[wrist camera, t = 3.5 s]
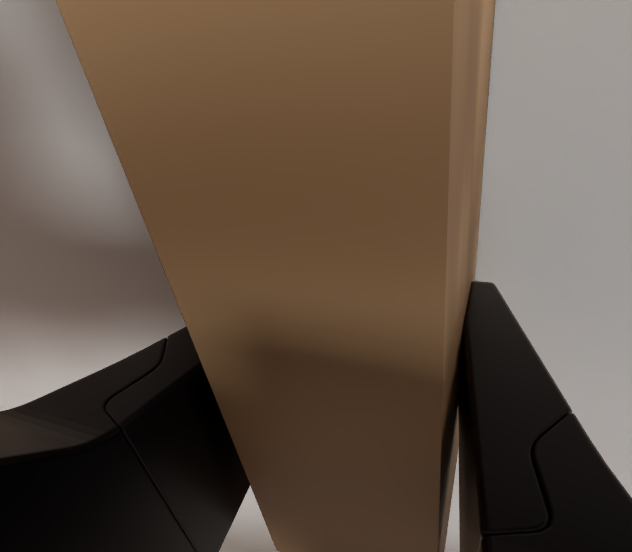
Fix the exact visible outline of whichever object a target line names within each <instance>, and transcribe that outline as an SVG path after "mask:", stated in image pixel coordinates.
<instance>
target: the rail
mask: <svg viewBox="0 0 632 552" xmlns="http://www.w3.org/2000/svg"><path fill="white" fill-rule="evenodd" d="M56 3H57V5H58V8H59V10H60V13H61V15H62V18H63V20H64V23H65V25H66V28H67V30H68V33H69V35H70V38H71V40H72V43H73V45H74V48H75V50H76V53H77V55H78V58H79V60H80V63H81V65H82V67H83V70H84V72H85V75H86V77H87V80H88V82H89V85H90V87H91V90H92V92H93V95H94V97H95V100H96V102H97V105H98V107H99V110H100V112H101V115H102V117H103V120H104V122H105V125H106V127H107V130H108V132H109V135H110V137H111V140H112V142H113V145H114V147H115V150H116V152H117V155H118V157H119V159H120V162H121V164H122V167H123V169H124V172H125V174H126V177H127V179H128V182H129V184H130V187H131V189H132V192H133V194H134V197H135V199H136V202H137V204H138V207H139V209H140V212H141V214H142V217H143V219H144V222H145V224H146V227H147V229H148V232H149V234H150V237H151V239H152V242H153V244H154V247H155V249H156V251H157V254H158V256H159V259H160V261H161V264H162V266H163V269H164V271H165V274H166V276H167V279H168V281H169V284H170V286H171V289H172V291H173V294H174V296H175V299H176V301H177V304H178V306H179V309H180V311H181V314H182V316H183V319H184V321H185V324H186V326H187V329H188V331H189V334H190V336H191V339H192V341H193V343H194V346H195V348H196V351H197V353H198V356H199V358H200V361H201V363H202V366H203V368H204V371H205V373H206V376H207V378H208V381H209V383H210V386H211V388H212V391H213V393H214V396H215V398H216V401H217V403H218V406H219V408H220V411H221V413H222V416H223V418H224V421H225V423H226V426H227V428H228V431H229V433H230V435H231V438H232V440H233V443H234V445H235V448H236V450H237V453H238V455H239V458H240V460H241V463H242V465H243V468H244V470H245V473H246V475H247V478H248V480H249V483H250V485H251V488H252V490H253V493H254V495H255V498H256V500H257V503H258V505H259V508H260V510H261V513H262V515H263V518H264V520H265V523H266V525H267V527H268V530H269V532H270V535H271V537H272V540H273V542H274V545H275V547H276V550H278V551H281V552H444V549H445V542H446V535H447V527H448V520H449V513H450V505H451V498H452V491H453V484H454V476H455V469H456V462H457V454H458V447H459V421H458V402H459V385H460V368H461V352H462V335H463V323H464V317H465V312H466V307H467V302H468V297H469V292H470V287H471V282H473V281H475V270H476V257H477V243H478V230H479V216H480V203H481V189H482V176H483V162H484V149H485V135H486V122H487V108H488V95H489V81H490V67H491V54H492V40H493V27H494V13H495V0H56Z"/></svg>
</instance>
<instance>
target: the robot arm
mask: <svg viewBox="0 0 632 552" xmlns="http://www.w3.org/2000/svg"><path fill="white" fill-rule="evenodd" d="M458 421H459V511H460V552H632V498H631V496H630V495H629V494H628V492H627V491H626V490H625V488H624V487H623V486H622V484H621V483H620V482H619V480H618V479H617V478H616V476H615V475H614V474H613V472H612V471H611V470H610V468H609V467H608V466H607V464H606V463H605V461H604V460H603V458H602V457H601V455H600V454H599V452H598V451H597V449H596V447H595V446H594V444H593V443H592V441H591V440H590V438H589V437H588V435H587V434H586V432H585V430H584V429H583V427H582V426H581V424H580V422H579V421H578V419H577V417H576V416H575V415H574V414H573V413H572V410H571V408H570V406H569V405H568V403H567V401H566V400H565V398H564V397H563V395H562V393H561V392H560V390H559V388H558V387H557V385H556V384H555V382H554V380H553V379H552V377H551V375H550V374H549V372H548V370H547V369H546V367H545V366H544V364H543V362H542V361H541V359H540V357H539V356H538V354H537V353H536V351H535V349H534V348H533V346H532V344H531V343H530V341H529V339H528V338H527V336H526V335H525V333H524V331H523V330H522V328H521V326H520V325H519V323H518V322H517V320H516V318H515V317H514V315H513V313H512V312H511V310H510V308H509V307H508V305H507V304H506V302H505V300H504V299H503V297H502V295H501V294H500V292H499V291H498V289H497V287H496V286H495V284H493V283H490V282H479V281H473V282H471V287H470V292H469V297H468V302H467V307H466V312H465V317H464V323H463V335H462V352H461V368H460V385H459V402H458ZM249 486H250V483H249V480H248V478H247V475H246V473H245V470H244V468H243V465H242V463H241V460H240V458H239V455H238V453H237V450H236V448H235V445H234V443H233V440H232V438H231V435H230V433H229V431H228V428H227V426H226V423H225V421H224V418H223V416H222V413H221V411H220V408H219V406H218V403H217V401H216V398H215V396H214V393H213V391H212V388H211V386H210V383H209V381H208V378H207V376H206V373H205V371H204V368H203V366H202V363H201V361H200V358H199V356H198V353H197V351H196V348H195V346H194V343H193V341H192V339H191V336H190V334H189V331H188V329H187V326H186V327H184V328H183V329H181V330H179V331H177V332H175V333H173V334H171V335H169V336H168V338H164V339H162V340H160V341H158V342H156V343H154V344H152V345H151V346H149V347H147V348H145V349H143V350H141V351H139V352H137V353H135V354H133V355H131V356H129V357H127V358H125V359H123V360H121V361H119V362H117V363H115V364H112V365H110V366H108V367H106V368H104V369H102V370H100V371H97V372H95V373H93V374H91V375H89V376H87V377H84V378H82V379H80V380H78V381H76V382H73V383H71V384H69V385H67V386H65V387H62V388H60V389H58V390H56V391H54V392H51V393H49V394H47V395H45V396H43V397H40V398H38V399H36V400H34V401H31V402H29V403H27V404H24V405H22V406H19V407H16V408H12V409H9V410H5V411H0V552H219V550H220V548H221V546H222V544H223V542H224V539H225V537H226V535H227V533H228V531H229V529H230V527H231V525H232V522H233V520H234V518H235V516H236V514H237V512H238V510H239V508H240V505H241V503H242V501H243V499H244V497H245V495H246V493H247V491H248V488H249Z"/></svg>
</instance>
